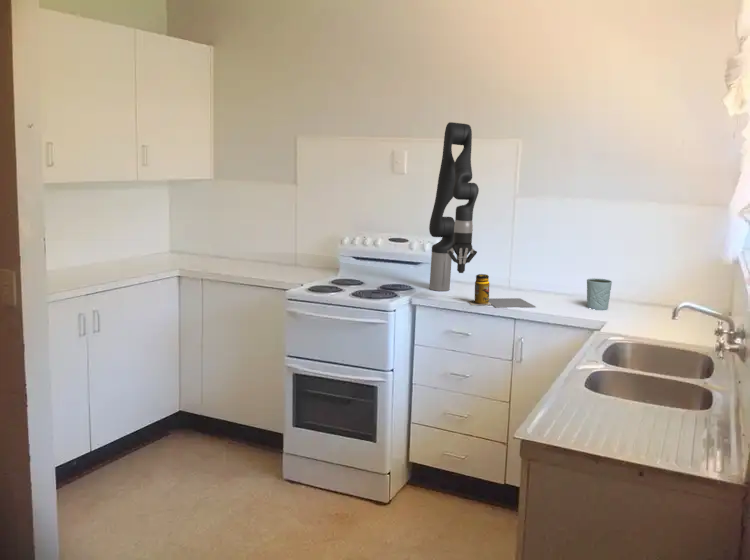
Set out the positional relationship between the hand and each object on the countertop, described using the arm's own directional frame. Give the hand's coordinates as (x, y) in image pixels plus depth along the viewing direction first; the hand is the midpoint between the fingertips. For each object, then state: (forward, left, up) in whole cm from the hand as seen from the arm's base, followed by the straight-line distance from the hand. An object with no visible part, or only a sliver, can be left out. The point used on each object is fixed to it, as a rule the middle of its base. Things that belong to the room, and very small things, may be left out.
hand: (460, 272), depth 315 cm
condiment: (0, +9, -13) cm, 16 cm away
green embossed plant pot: (+10, +58, -13) cm, 61 cm away
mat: (0, +22, -13) cm, 26 cm away
